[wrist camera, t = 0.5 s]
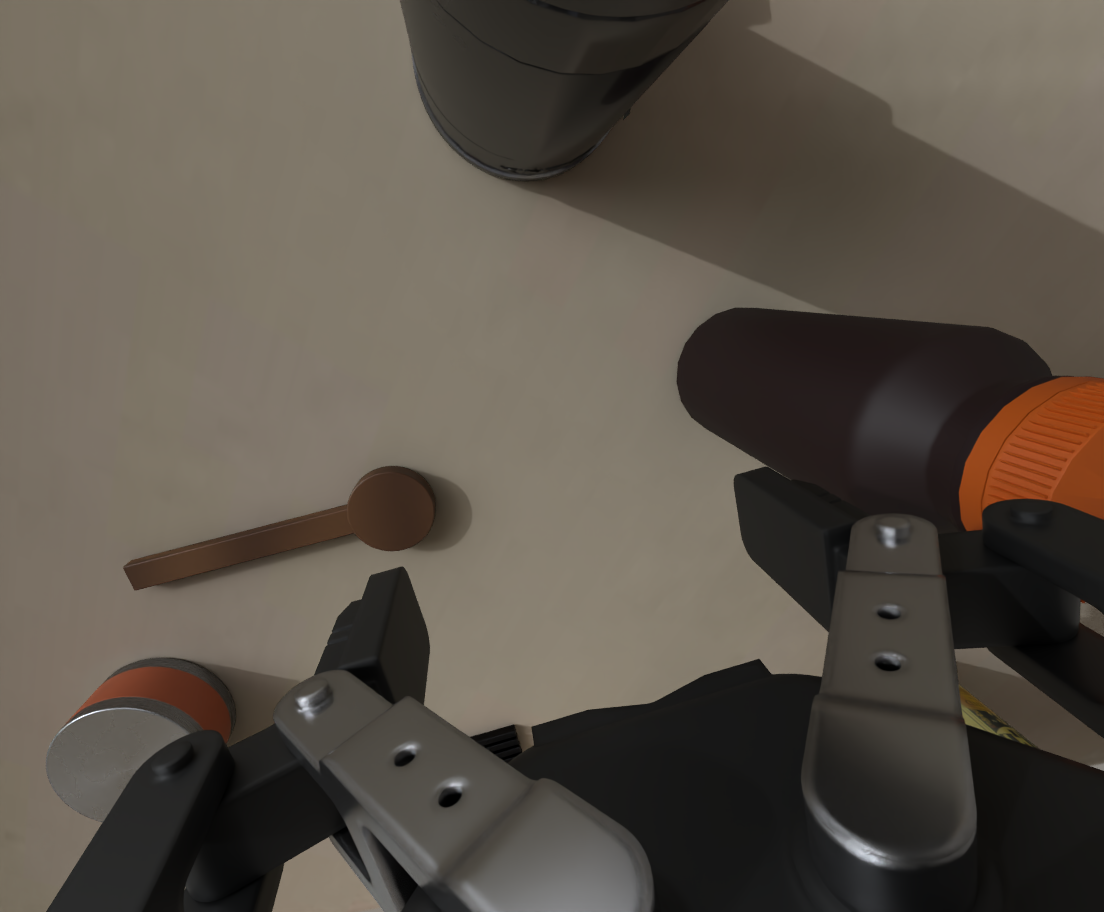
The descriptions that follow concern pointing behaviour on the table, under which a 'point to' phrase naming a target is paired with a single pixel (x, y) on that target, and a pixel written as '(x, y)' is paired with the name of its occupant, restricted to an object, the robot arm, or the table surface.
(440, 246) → the table surface
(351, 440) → the table surface
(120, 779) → the tin can
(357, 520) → the spoon
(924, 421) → the vinegar
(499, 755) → the fork
